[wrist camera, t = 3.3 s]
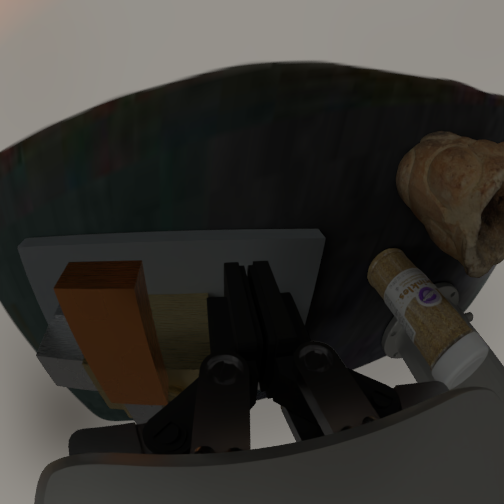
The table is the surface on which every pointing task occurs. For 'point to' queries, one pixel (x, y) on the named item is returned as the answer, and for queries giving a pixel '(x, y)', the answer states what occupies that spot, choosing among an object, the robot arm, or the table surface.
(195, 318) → the valve
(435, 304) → the sprinkles bottle
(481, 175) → the pipe
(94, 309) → the lever
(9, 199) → the table surface
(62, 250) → the valve board
